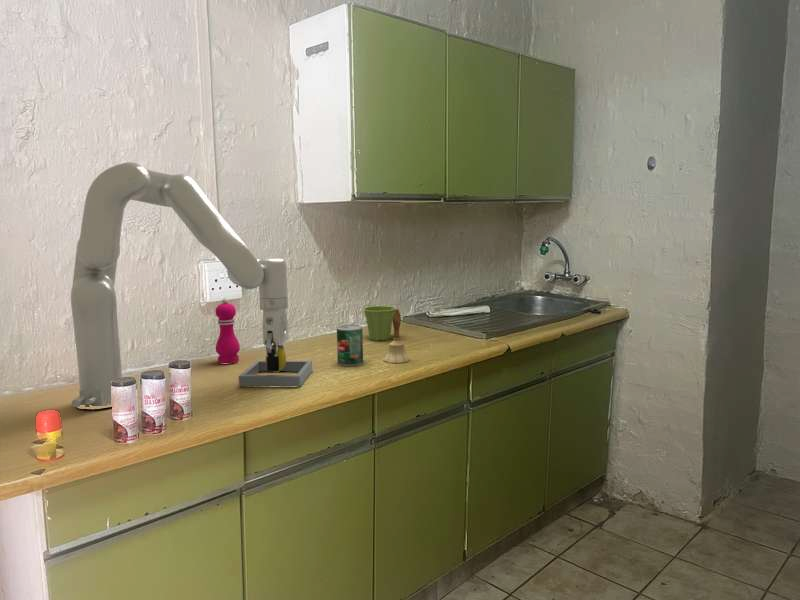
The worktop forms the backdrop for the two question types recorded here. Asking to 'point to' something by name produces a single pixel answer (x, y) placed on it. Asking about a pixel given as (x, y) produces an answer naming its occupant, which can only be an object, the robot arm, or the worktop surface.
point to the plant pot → (379, 321)
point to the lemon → (280, 358)
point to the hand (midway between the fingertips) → (276, 367)
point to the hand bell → (396, 343)
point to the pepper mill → (227, 333)
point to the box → (276, 380)
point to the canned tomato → (350, 345)
